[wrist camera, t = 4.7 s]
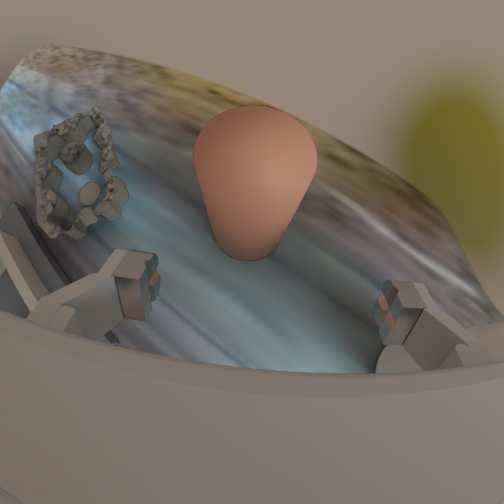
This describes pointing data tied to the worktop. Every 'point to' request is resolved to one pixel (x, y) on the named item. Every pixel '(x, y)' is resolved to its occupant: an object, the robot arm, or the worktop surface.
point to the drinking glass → (398, 360)
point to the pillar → (253, 177)
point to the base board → (28, 267)
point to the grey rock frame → (79, 162)
